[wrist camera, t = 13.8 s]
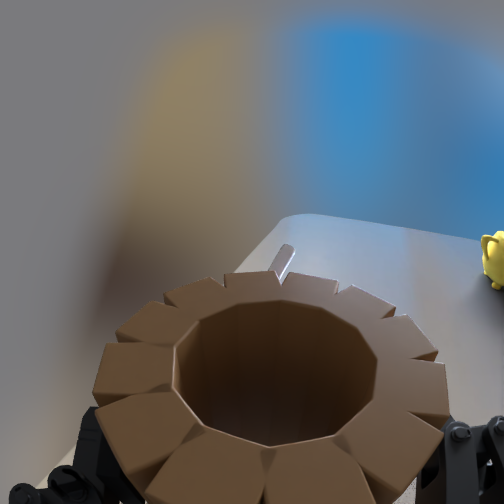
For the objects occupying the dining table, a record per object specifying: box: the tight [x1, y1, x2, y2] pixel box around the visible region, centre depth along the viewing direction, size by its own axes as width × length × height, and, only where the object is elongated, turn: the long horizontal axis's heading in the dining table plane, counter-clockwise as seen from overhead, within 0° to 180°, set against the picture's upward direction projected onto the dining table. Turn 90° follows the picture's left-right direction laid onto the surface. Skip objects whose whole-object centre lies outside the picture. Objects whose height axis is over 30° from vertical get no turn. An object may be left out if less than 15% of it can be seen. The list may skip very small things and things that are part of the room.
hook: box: [268, 244, 295, 285], centre depth 51 cm, size 8×12×7 cm
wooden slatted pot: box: [92, 271, 450, 504], centre depth 10 cm, size 9×9×10 cm
